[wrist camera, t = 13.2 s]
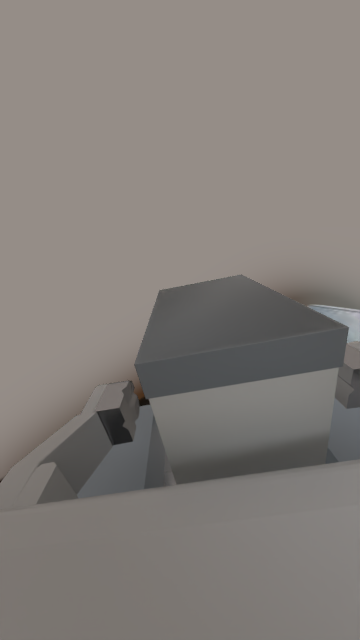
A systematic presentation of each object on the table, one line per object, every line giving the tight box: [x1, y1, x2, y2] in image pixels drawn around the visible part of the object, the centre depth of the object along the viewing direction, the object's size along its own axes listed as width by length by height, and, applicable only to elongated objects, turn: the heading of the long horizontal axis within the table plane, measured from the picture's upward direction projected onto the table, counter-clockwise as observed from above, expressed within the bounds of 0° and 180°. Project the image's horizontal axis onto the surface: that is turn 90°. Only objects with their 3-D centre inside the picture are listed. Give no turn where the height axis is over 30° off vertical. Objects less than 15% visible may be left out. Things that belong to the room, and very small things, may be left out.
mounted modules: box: [77, 398, 360, 498], centre depth 11 cm, size 16×6×4 cm, turn 92°
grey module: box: [135, 275, 349, 485], centre depth 9 cm, size 5×7×11 cm, turn 1°
